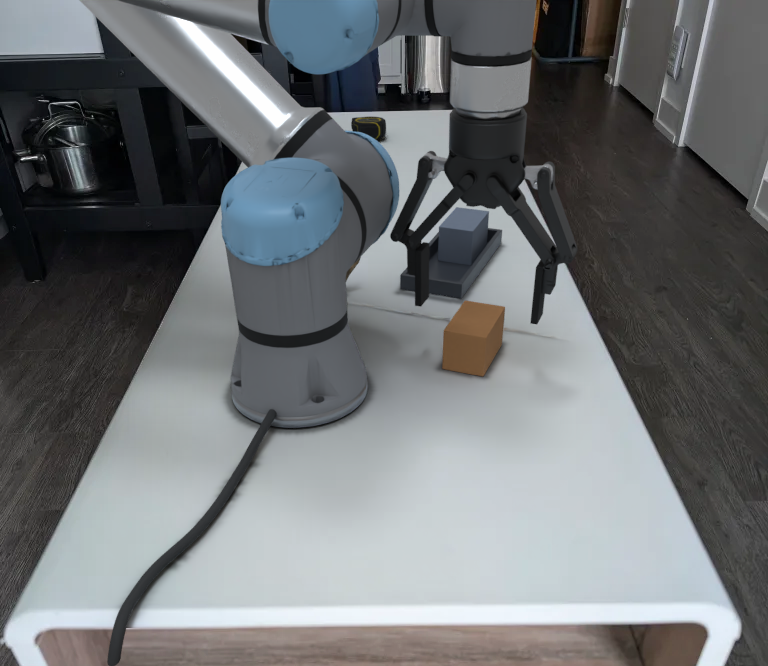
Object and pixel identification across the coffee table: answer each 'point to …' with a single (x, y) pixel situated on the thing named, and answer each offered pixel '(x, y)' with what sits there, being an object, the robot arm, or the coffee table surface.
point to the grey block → (463, 236)
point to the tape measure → (369, 126)
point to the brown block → (473, 338)
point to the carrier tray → (453, 269)
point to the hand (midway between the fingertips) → (478, 310)
